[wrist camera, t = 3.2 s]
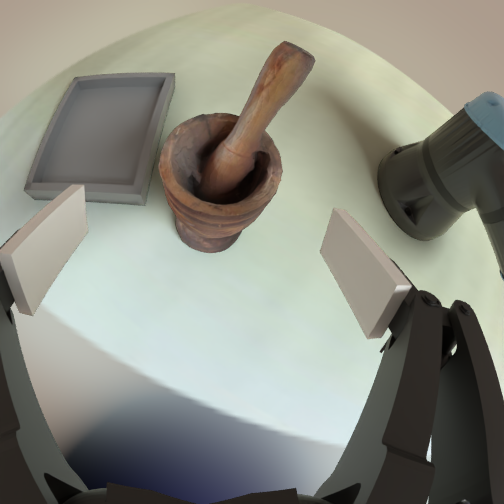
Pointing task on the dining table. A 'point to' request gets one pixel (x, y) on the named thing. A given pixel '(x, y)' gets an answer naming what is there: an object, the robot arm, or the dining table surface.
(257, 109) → the mortar and pestle
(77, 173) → the tray
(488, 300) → the dining table surface
